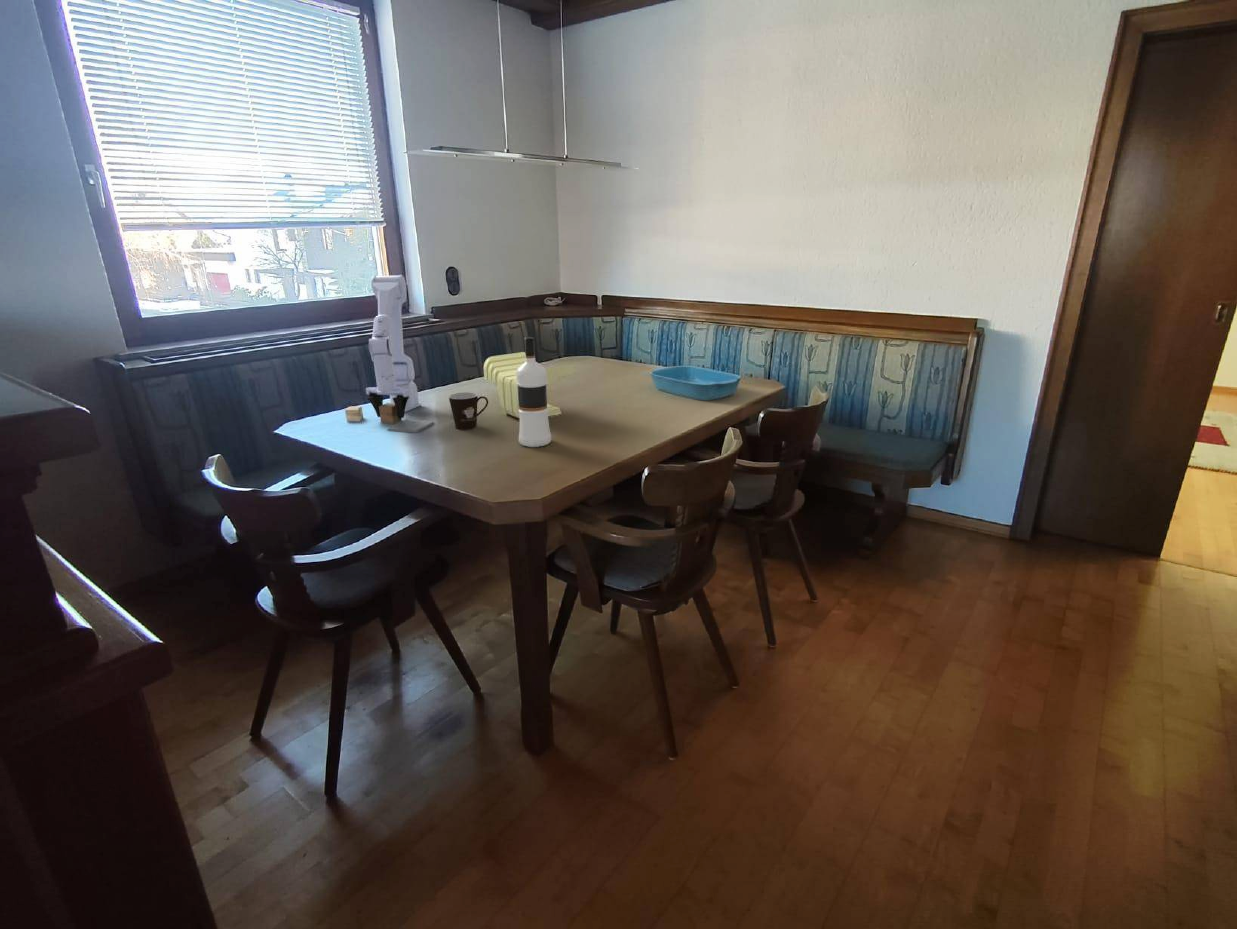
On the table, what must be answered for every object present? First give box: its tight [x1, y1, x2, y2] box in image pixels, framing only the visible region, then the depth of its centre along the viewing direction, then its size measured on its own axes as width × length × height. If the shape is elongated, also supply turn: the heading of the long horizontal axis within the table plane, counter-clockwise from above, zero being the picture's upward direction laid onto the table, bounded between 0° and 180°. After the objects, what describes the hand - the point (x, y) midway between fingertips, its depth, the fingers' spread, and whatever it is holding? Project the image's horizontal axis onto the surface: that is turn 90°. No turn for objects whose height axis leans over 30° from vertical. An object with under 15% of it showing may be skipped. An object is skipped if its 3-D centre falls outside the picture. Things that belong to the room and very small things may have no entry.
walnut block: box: [379, 402, 403, 425], centre depth 208 cm, size 4×4×6 cm
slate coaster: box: [387, 418, 435, 434], centre depth 202 cm, size 10×10×1 cm
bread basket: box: [483, 351, 576, 419], centre depth 212 cm, size 30×16×18 cm, turn 39°
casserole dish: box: [650, 365, 742, 401], centre depth 241 cm, size 37×22×7 cm, turn 38°
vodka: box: [516, 336, 552, 448], centre depth 180 cm, size 9×9×30 cm
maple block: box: [344, 405, 364, 422], centre depth 211 cm, size 4×4×4 cm
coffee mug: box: [448, 391, 489, 431], centre depth 200 cm, size 12×9×10 cm
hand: (390, 417), depth 208 cm, fingers open, 7 cm apart
